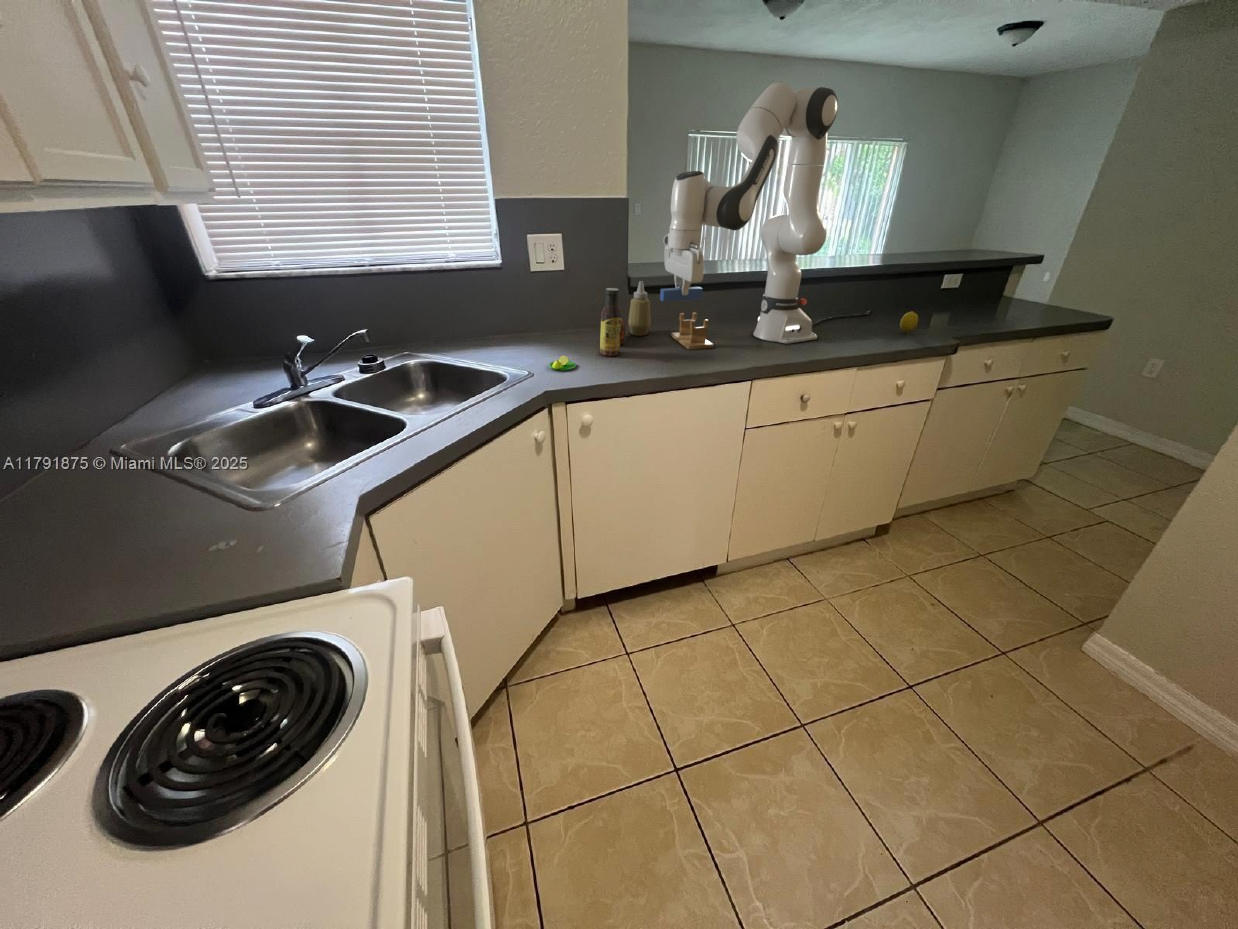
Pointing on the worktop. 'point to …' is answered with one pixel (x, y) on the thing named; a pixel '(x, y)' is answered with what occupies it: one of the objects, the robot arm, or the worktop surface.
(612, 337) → the sauce bottle
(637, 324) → the squeeze bottle
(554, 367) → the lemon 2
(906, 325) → the lemon
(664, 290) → the handle
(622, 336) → the tin
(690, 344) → the holder
